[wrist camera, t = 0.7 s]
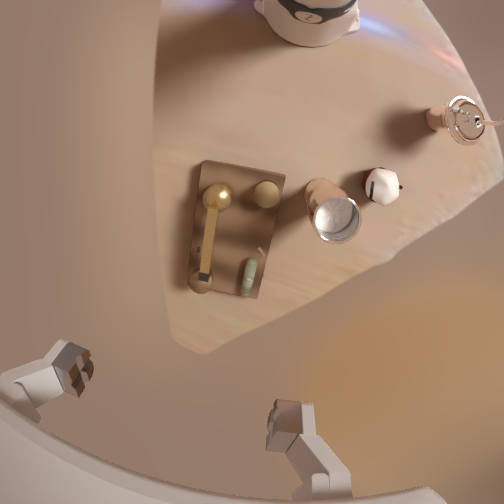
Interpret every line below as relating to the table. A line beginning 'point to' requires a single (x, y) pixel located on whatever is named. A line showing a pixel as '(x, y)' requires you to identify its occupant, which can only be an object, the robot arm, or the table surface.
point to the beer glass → (331, 211)
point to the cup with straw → (459, 120)
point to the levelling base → (236, 228)
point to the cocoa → (381, 185)
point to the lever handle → (213, 223)
